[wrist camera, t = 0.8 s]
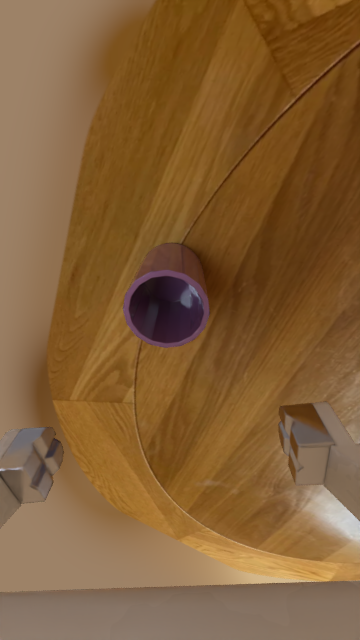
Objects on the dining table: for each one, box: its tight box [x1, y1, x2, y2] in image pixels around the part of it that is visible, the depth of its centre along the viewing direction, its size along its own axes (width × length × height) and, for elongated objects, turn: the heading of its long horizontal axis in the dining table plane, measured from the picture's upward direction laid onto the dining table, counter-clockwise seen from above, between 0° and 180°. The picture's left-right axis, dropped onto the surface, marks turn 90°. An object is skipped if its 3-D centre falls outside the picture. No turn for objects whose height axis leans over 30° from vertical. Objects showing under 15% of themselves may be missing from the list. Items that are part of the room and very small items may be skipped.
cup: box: [123, 243, 210, 348], centre depth 25 cm, size 7×7×9 cm
